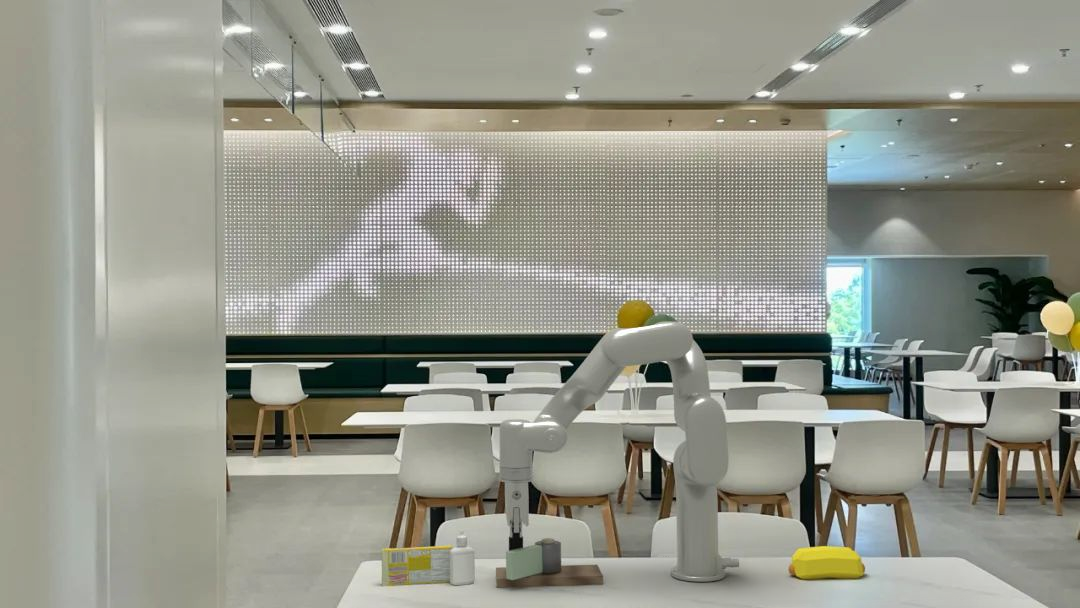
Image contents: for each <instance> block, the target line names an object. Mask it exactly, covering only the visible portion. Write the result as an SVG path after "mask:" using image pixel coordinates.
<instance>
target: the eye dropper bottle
mask: <svg viewBox="0 0 1080 608" xmlns="http://www.w3.org/2000/svg"><path fill="white" fill-rule="evenodd" d="M475 575H476V571H475V549H473V547H471V546H468V536H467V535H465V533H464V530H459V533H458V535H457V536H456V546H455V547H454V546H453V547H452V549H451V550H450V583H449V584H451V585H452V586H466V585H470V584H471V585H472V584H474V582H475V581H476V578H475V577H476V576H475Z"/></svg>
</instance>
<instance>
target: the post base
mask: <svg viewBox="0 0 1080 608" xmlns="http://www.w3.org/2000/svg"><path fill="white" fill-rule="evenodd" d="M495 579H496V580H495V583H496V588H499V589H500V588H502V589H504V588H529V587H530V588H532V587H533V588H534V587H561V586H563V587H565V586H566V587H567V586H568V587H569V586H592V585H591V584H601V585H604V577H603V573H602V571H601V569H600V567H599V566H598V564H573V565H569V564H568V565H561V571H560V572H557V573H550V574H545V573H538V574H534V575H530V576H527V577H523V578H519V579H515V580H510V579H506V566H505V567H495Z"/></svg>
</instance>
